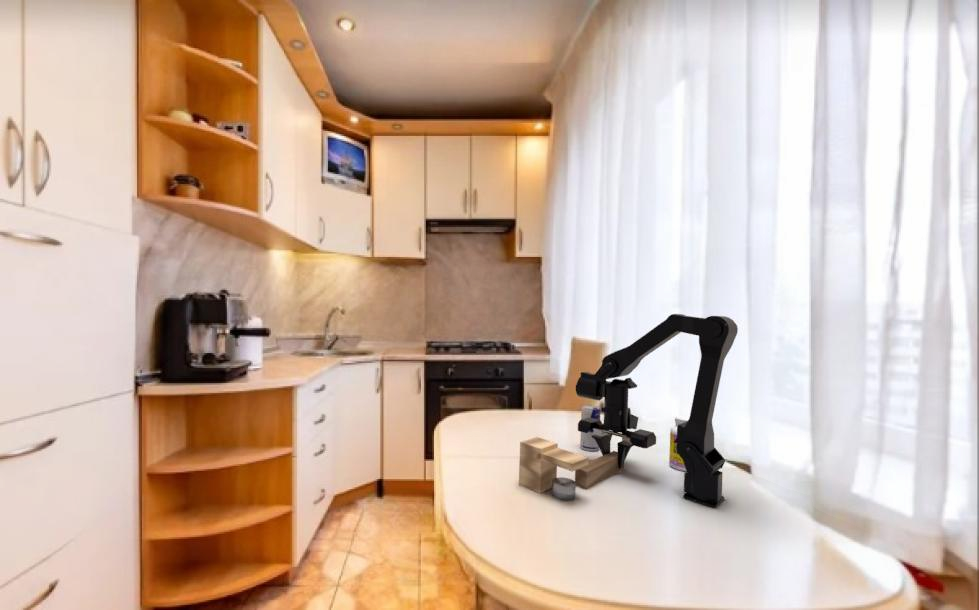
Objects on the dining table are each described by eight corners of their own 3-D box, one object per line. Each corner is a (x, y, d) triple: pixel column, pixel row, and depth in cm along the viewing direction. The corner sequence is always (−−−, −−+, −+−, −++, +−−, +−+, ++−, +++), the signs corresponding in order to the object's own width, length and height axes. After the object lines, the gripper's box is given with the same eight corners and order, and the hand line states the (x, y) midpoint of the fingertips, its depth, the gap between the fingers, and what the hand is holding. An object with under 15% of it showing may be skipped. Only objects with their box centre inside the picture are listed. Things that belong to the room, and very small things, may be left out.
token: (579, 496, 88) (580, 482, 88) (566, 503, 85) (567, 489, 85) (560, 489, 92) (561, 475, 92) (546, 495, 88) (547, 481, 88)
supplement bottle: (668, 469, 106) (669, 418, 106) (670, 461, 112) (671, 413, 112) (697, 474, 103) (698, 422, 103) (697, 466, 109) (699, 417, 109)
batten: (624, 469, 105) (624, 454, 105) (586, 489, 92) (586, 471, 92) (613, 466, 107) (613, 450, 107) (574, 485, 94) (575, 467, 94)
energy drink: (601, 452, 118) (602, 409, 118) (582, 451, 118) (583, 408, 118) (596, 446, 123) (597, 405, 123) (578, 445, 123) (579, 404, 123)
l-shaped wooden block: (587, 497, 88) (588, 452, 88) (571, 506, 83) (572, 459, 84) (535, 477, 98) (536, 437, 98) (518, 484, 93) (520, 442, 93)
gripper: (666, 406, 103) (664, 469, 103) (599, 394, 117) (597, 449, 116) (646, 412, 95) (644, 481, 95) (577, 398, 109) (575, 458, 108)
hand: (614, 466), depth 104 cm, fingers closed on batten, 3 cm apart
